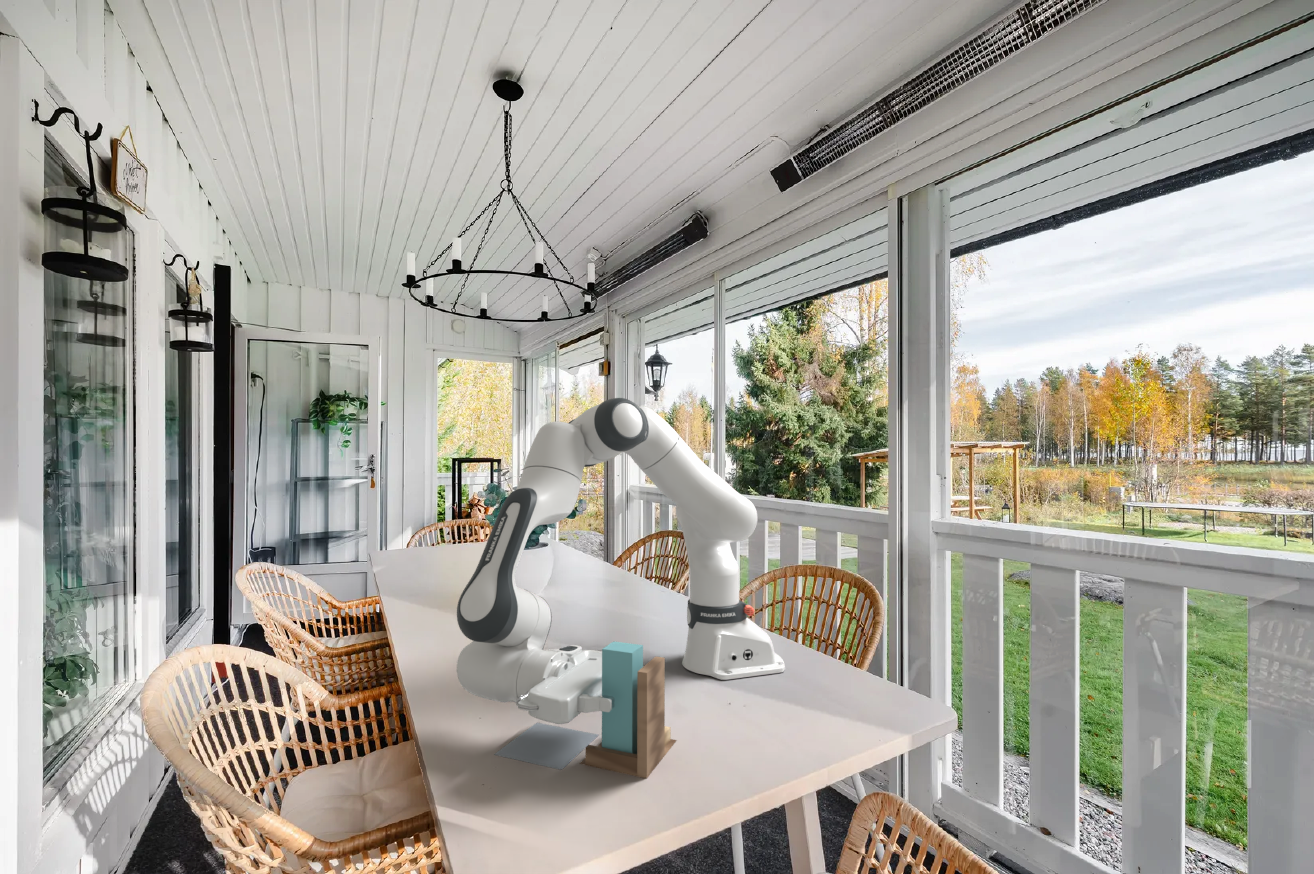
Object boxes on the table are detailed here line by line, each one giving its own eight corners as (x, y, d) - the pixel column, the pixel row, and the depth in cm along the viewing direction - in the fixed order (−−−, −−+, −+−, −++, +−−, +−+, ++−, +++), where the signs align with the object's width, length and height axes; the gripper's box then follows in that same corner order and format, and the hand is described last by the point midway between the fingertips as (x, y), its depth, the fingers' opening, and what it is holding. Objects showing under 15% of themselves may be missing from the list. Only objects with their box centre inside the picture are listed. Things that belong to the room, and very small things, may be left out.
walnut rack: (615, 734, 105) (615, 639, 105) (676, 746, 101) (676, 646, 101) (579, 770, 93) (579, 662, 93) (646, 785, 89) (647, 672, 89)
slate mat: (536, 728, 107) (536, 722, 107) (599, 740, 103) (599, 734, 103) (493, 760, 96) (494, 754, 96) (561, 776, 91) (561, 769, 91)
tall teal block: (613, 750, 97) (613, 641, 97) (642, 756, 95) (643, 645, 96) (601, 762, 93) (602, 648, 94) (632, 768, 92) (632, 653, 92)
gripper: (509, 682, 90) (594, 697, 85) (578, 641, 109) (651, 651, 104) (509, 726, 90) (594, 743, 85) (578, 677, 109) (651, 689, 104)
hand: (626, 692), depth 94 cm, fingers open, 8 cm apart
